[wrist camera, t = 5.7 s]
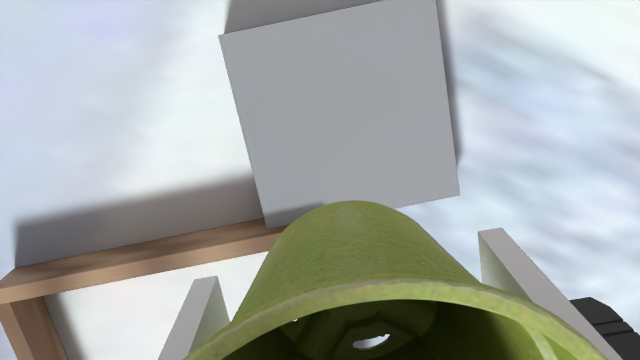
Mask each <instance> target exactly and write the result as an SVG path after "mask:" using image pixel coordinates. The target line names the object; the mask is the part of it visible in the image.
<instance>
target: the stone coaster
mask: <svg viewBox="0 0 640 360" xmlns="http://www.w3.org/2000/svg"><path fill="white" fill-rule="evenodd" d="M218 37H219V41H220V45H221V49H222V53H223V57H224V61H225V65H226V69H227V73H228V76H229V80H230V84H231V88H232V92H233V96H234V100H235V104H236V108H237V112H238V116H239V120H240V124H241V128H242V132H243V136H244V140H245V144H246V148H247V152H248V156H249V160H250V164H251V168H252V172H253V176H254V180H255V183H256V187H257V191H258V195H259V199H260V203H261V207H262V211H263V215H264V219H265V223H266V227H267V229H271V228H276V227H281V226H286V225H290V224H291V223H292V222H294V221H295V220H297V219H298V218H299V217H301V216H302V215H304V214H306V213H307V212H309V211H311V210H313V209H316V208H318V207H321V206H323V205H326V204H330V203H335V202H340V201H351V200H362V201H369V202H375V203H378V204H382V205H385V206H387V207H389V208H392V209H394V208H399V207H404V206H409V205H414V204H419V203H424V202H429V201H434V200H439V199H444V198H449V197H454V196H459V195H460V191H459V183H458V175H457V167H456V159H455V151H454V143H453V135H452V127H451V119H450V111H449V103H448V95H447V86H446V78H445V70H444V62H443V54H442V46H441V38H440V30H439V22H438V14H437V6H436V0H383V1H378V2H373V3H369V4H364V5H359V6H355V7H350V8H345V9H340V10H336V11H331V12H326V13H322V14H317V15H312V16H307V17H303V18H298V19H293V20H288V21H284V22H279V23H274V24H270V25H265V26H260V27H255V28H251V29H246V30H241V31H236V32H232V33H227V34H222V35H218Z"/></svg>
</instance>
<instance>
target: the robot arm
mask: <svg viewBox="0 0 640 360" xmlns="http://www.w3.org/2000/svg"><path fill="white" fill-rule="evenodd" d="M478 241H479V252H480V263H481V274H482V284H486V285H489V286H492V287H495V288H499V289H501V290H504V291H507V292H510V293H512V294H515V295H518V296H520V297H522V298H524V299H527V300H529V301H531V302H533V303H535V304H537V305H539V306H541V307H542V308H544V309H546V310H548V311H550V312H551V313H553V314H555V315H556V316H558V317H559V318H561V319H562V320H563V321H565V322H566V323H568V324H569V325H571V326H572V327H573V328H574V329H576V330H577V331H578V332H579V333H581V334H582V335H583V336H584V337H585V338H587V339H588V340H589V341H590V342H591V343H592V344H593V345H594V346H595V347H596V348H597V349H598V350H599V351H600V352H601V353H602V354H603V355H604V356H605V357H606V358H607V359H608V360H640V335H639V334H638V333H637V332H634V330H633V329H632V328H631V327H630V326H629V325H628V324H627V323H626V322H623V319H622V318H621V317H620V316H619V315H618V314H617V313H616V312H615V311H614V310H613V309H612V308H611V307H609V306H607V305H605V304H603V303H601V302H599V301H597V300H595V299H593V298H591V297H587V298H581V299H575V300H568V299H567V298H566V297H565V296H564V295H563V294H562V293H561V292H560V291H559V289H558V288H557V287H556V286H555V285H554V284H553V283H552V282H551V281H550V280H549V279H548V277H547V276H546V275H545V274H544V273H543V272H542V271H541V270H540V269H539V268H538V267H537V265H536V264H535V263H534V262H533V261H532V260H531V259H530V258H529V257H528V256H527V255H526V254H525V252H524V251H523V250H522V249H521V248H520V247H519V246H518V245H517V244H516V243H515V242H514V240H513V239H512V238H511V237H510V236H509V235H508V234H507V233H506V232H505V231H504V230H503V228H496V229H490V230H484V231H478ZM229 323H230V321H229V317H228V314H227V310H226V306H225V302H224V299H223V295H222V291H221V288H220V284H219V280H218V277H217V276H213V277H207V278H201V279H195V280H194V281H193V284H192V286H191V288H190V290H189V292H188V295H187V297H186V299H185V301H184V303H183V306H182V308H181V310H180V312H179V314H178V317H177V319H176V321H175V323H174V325H173V328H172V330H171V332H170V334H169V336H168V338H167V341H166V343H165V345H164V347H163V349H162V352H161V354H160V356H159V358H158V360H183V359H184V358H185V357H186V356H187V355H188V354H190V353H191V352H192V351H193V350H194V349H195V348H197V347H198V346H199V345H200V344H201V343H202V342H204V341H205V340H206V339H208V338H209V337H210V336H212V335H213V334H215V333H216V332H218V331H219V330H221V329H222V328H224V327H226V326H227V325H228V324H229Z"/></svg>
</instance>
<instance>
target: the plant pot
mask: <svg viewBox="0 0 640 360" xmlns="http://www.w3.org/2000/svg"><path fill="white" fill-rule="evenodd" d="M296 319H298V320H297V321H293V320H296ZM385 334H390V336H389V337H388V338H387V339H386V340H385V341H383V342H382V343H380V344H378V345H376V346H373V347H370V348H362V349H359V348H354V347H353V345H352V344H353V343H354V342H355V341H358V340H360V341H361V340H365V339H372V338H376V337H378V336H382V337H384V336H385ZM183 360H608V359H607V358H606V357H605V356H604V355H603V354H602V353H601V352H600V351H599V350H598V349H597V348H596V347H595V346H594V345H593V344H592V343H591V342H590V341H589V340H588V339H587V338H585V337H584V336H583V335H582V334H581V333H579V332H578V331H577V330H576V329H574V328H573V327H572V326H571V325H569V324H568V323H566V322H565V321H563V320H562V319H561V318H559V317H558V316H556V315H555V314H553V313H551V312H550V311H548V310H546V309H544V308H542V307H541V306H539V305H537V304H535V303H533V302H531V301H529V300H527V299H524V298H522V297H520V296H518V295H515V294H512V293H510V292H507V291H504V290H501V289H499V288H495V287H492V286H489V285H486V284H482V283H480V282H479V281H478V280H477V279H476V278H475V277H474V276H473V275H471V274H470V273H469V272H468V271H467V270H466V269H465V268H464V267H463V266H462V265H461V264H460V263H459V262H457V261H456V260H455V259H454V258H453V257H452V256H451V255H450V254H449V253H448V252H447V251H446V250H445V249H444V248H443V247H442V246H441V245H440V244H439V243H438V242H437V241H436V240H435V239H434V238H432V237H431V236H430V235H429V234H428V233H427V232H426V231H425V230H424V229H423V228H422V227H421V226H420V225H419V224H418V223H417V222H415V221H414V220H413V219H411V218H410V217H408V216H406V215H405V214H403V213H401V212H399V211H397V210H394V209H392V208H389V207H387V206H385V205H382V204H378V203H375V202H369V201H362V200H351V201H340V202H335V203H330V204H326V205H323V206H321V207H318V208H316V209H313V210H311V211H309V212H307V213H306V214H304V215H302V216H301V217H299V218H298V219H297V220H295V221H294V222H292V223H291V224H290V225H289V226H288V227H287V228H286V229H285V230H284V231H283V232H282V233H281V235H280V236H279V237H278V238H277V240H276V241H275V243H274V244H273V246H272V247H271V249H270V251H269V252H268V254H267V256H266V258H265V260H264V262H263V264H262V265H261V267H260V269H259V271H258V273H257V275H256V277H255V279H254V281H253V283H252V285H251V287H250V289H249V291H248V293H247V294H246V296H245V298H244V300H243V302H242V303H241V305H240V307H239V309H238V311H237V312H236V314H235V316H234V318H233V320H232V321H231V322H230V323H229V324H228V325H227V326H226V327H224V328H222V329H221V330H219V331H218V332H216V333H215V334H213V335H212V336H210V337H209V338H208V339H206V340H205V341H204V342H202V343H201V344H200V345H199V346H198V347H197V348H195V349H194V350H193V351H192V352H191V353H190V354H188V355H187V356H186V357H185V358H184V359H183Z"/></svg>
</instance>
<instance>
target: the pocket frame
mask: <svg viewBox="0 0 640 360" xmlns="http://www.w3.org/2000/svg"><path fill="white" fill-rule="evenodd" d="M288 226H289V225H286V226H281V227H276V228H271V229H267V227H266V223H265V219H259V220H254V221H249V222H244V223H239V224H234V225H229V226H224V227H219V228H214V229H209V230H204V231H199V232H194V233H189V234H184V235H179V236H174V237H169V238H164V239H159V240H154V241H149V242H144V243H139V244H134V245H129V246H124V247H119V248H114V249H109V250H104V251H99V252H94V253H89V254H84V255H80V256H75V257H70V258H65V259H60V260H55V261H50V262H45V263H40V264H35V265H30V266H25V267H20V268H15V269H13V270H12V271H11V272H10V273H8V274H7V275H6V276H5V277H4V278H3V279H1V280H0V321H1V324H2V326H3V328H4V330H5V332H6V335H7V337H8V339H9V341H10V343H11V346H12V348H13V350H14V352H15V354H16V357H17V359H18V360H68V358H67V356H66V354H65V351H64V349H63V346H62V344H61V342H60V339H59V337H58V334H57V332H56V330H55V327H54V325H53V322H52V320H51V318H50V315H49V313H48V310H47V308H46V306H45V303H44V301H43V298H42V296H45V295H50V294H55V293H60V292H65V291H70V290H75V289H80V288H85V287H90V286H95V285H100V284H105V283H110V282H115V281H120V280H125V279H130V278H135V277H140V276H145V275H150V274H155V273H160V272H165V271H170V270H175V269H180V268H185V267H190V266H195V265H200V264H206V263H211V262H216V261H221V260H226V259H231V258H236V257H241V256H246V255H251V254H256V253H261V252H266V251H270V249H271V247H272V246H273V244H274V243H275V241H276V240H277V238H278V237H279V236H280V235H281V233H282V232H283V231H284V230H285V229H286V228H287V227H288Z"/></svg>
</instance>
